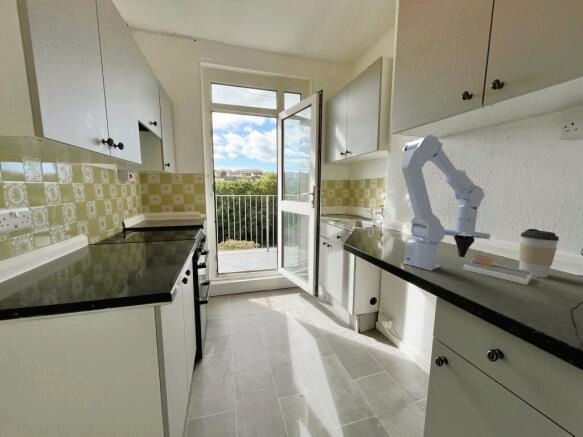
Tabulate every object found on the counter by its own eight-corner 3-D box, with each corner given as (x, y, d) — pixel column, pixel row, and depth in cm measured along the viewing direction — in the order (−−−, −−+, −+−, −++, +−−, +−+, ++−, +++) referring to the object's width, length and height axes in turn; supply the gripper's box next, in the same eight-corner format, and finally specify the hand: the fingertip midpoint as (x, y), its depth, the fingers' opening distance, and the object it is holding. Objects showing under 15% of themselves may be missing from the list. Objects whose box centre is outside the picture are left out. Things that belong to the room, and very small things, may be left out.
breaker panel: (462, 269, 83) (463, 262, 82) (471, 265, 88) (471, 258, 88) (527, 284, 70) (528, 276, 70) (531, 278, 76) (532, 271, 76)
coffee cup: (560, 280, 76) (569, 233, 74) (527, 277, 78) (534, 231, 76) (537, 271, 85) (544, 229, 83) (508, 268, 86) (514, 227, 85)
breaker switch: (474, 265, 82) (475, 255, 82) (477, 263, 85) (478, 254, 84) (489, 268, 79) (490, 258, 79) (491, 266, 81) (493, 257, 81)
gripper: (445, 218, 84) (440, 256, 86) (496, 222, 79) (490, 262, 81) (440, 217, 91) (436, 251, 92) (487, 220, 85) (482, 257, 87)
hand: (461, 256), depth 87 cm, fingers closed
